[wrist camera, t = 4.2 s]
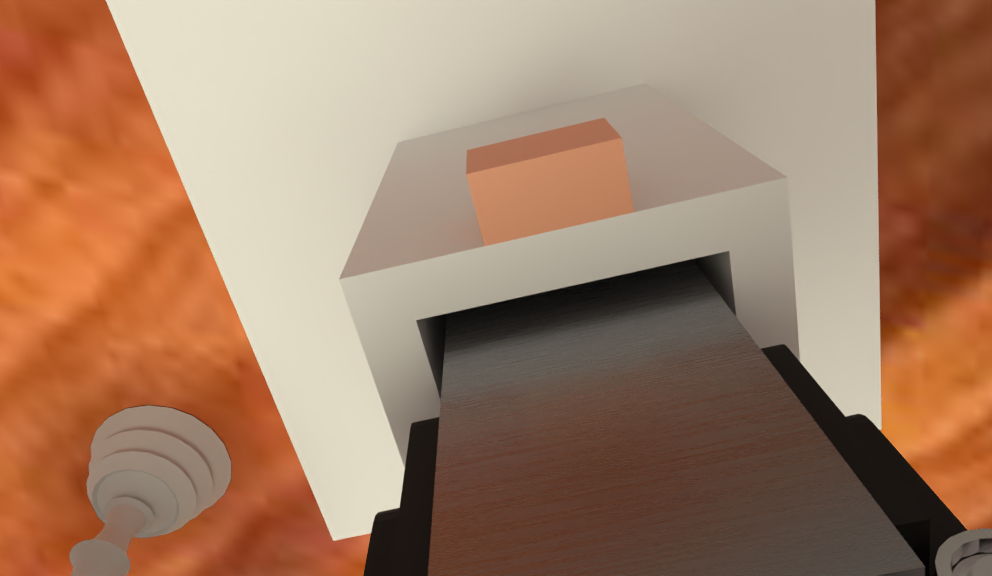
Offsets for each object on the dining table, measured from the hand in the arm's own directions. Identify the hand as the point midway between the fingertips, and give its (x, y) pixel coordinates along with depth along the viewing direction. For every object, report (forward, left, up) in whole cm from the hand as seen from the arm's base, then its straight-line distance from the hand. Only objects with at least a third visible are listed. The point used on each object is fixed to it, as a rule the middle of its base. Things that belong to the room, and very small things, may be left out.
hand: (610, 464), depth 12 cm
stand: (0, 0, -13) cm, 13 cm away
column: (0, 0, -11) cm, 11 cm away
